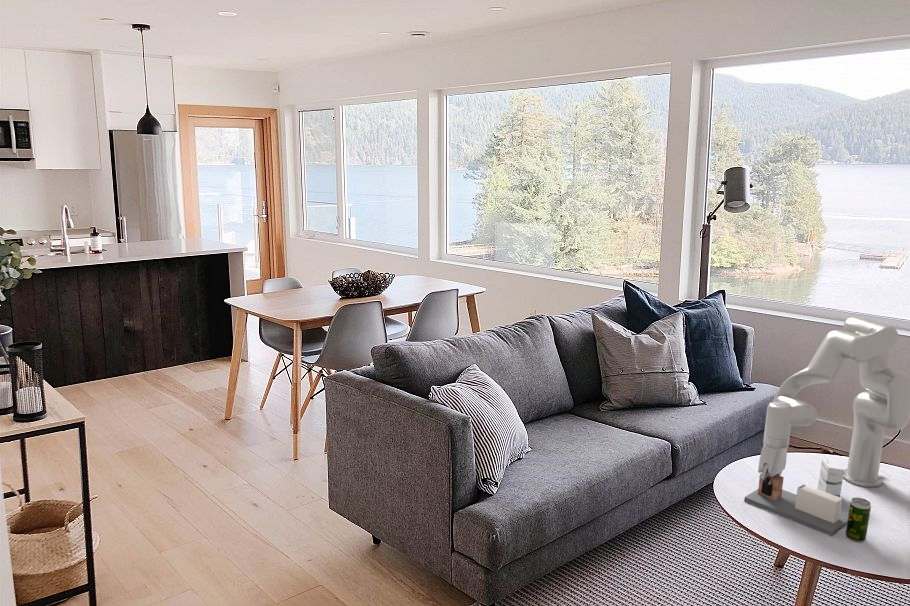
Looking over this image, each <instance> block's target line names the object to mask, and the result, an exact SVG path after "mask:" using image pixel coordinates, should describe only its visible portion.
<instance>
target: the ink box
mask: <svg viewBox="0 0 910 606" xmlns="http://www.w3.org/2000/svg"><path fill="white" fill-rule="evenodd" d="M844 470H845V469H844V468H843V467H842V465H841V463H840V462H839V460H838V459H833V458H827V457H822V458H821V464H820V469H819V476H818V477H819V478H818V484H817V489H818V490H821V491H823V492H826V493H829V494H832V495H834V496H837V497H840V498H841V494H842V486H843V480H844V478H843V473H844Z"/></svg>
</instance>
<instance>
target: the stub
mask: <svg viewBox="0 0 910 606" xmlns="http://www.w3.org/2000/svg"><path fill="white" fill-rule="evenodd" d="M761 474H762V472H761V473H759V479H758V480H759V481H758V488H757V489H758V494H760V495H762V496H765V497H767V498H770V499H772V500H775V501H776V500H777V499H779V498H780V497H781V495H782V489H783V487H784V486H783V485H784V477H785V476H782V475H781V476H779V475H775V476H773V480H772V485H773V487H772V495H771V496H768V495H765V494H763V493H761V490H762V479H761V478H760V476H761ZM767 474H770V473H767ZM766 477H767V478H768V479H770V477H768V476H766Z"/></svg>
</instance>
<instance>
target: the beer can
mask: <svg viewBox="0 0 910 606" xmlns="http://www.w3.org/2000/svg"><path fill="white" fill-rule="evenodd" d="M871 508H872V507H871V502H870V500H867V499H866V498H863V497H862V498H861V497H852V498H851V500H850V503H849V508H848V509H849V510H848V513H847V514H848V521H847V525H846V528H845V537H846V538H847V540H849V541H851V542H854V543H861V544H862V543H864V542H865V541H866V540H867V536H868V535H867V533H868V528H869V521H870V516H871Z"/></svg>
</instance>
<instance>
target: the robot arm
mask: <svg viewBox="0 0 910 606" xmlns="http://www.w3.org/2000/svg"><path fill="white" fill-rule="evenodd" d="M899 338H900V337H899V333H898V331H897V329H896V328H895V327H893V326H891V325H889V324H887V323H882V322H878V321H875V320H871V319H868V318H865V317H860V316H851V317H848V318H847V319H846V320H844V322H843V330H841V329H835V330H833V329H832V330H830V331H828V333H827V334H826V335H825V336H824V338H823V340H822V341H821V343H820V345H819V347H817V350H816V352H815V353H814V355H813V357H812V358H811V360H810V361H809V363H808V364H807V366H806V367H805V368H803V369H801V370H800V371H797V372H795V373H794V374H793V375H791V376H790V377H788V378H786V380H784V381H783V382H782V383H781V385H780V387H779V389H778V390H777V392H776V394H775V395H774V396H773V400H772V402H770V403H768V404H767V407H766V416H765V425H764V433H763V442H762V443H763V445H762V449H761V451H760V456H759V461H758V468H757V473H758V474H761V473H762V474H761V476H760V475H759V479H760V478H761V479H762V490H761V493H763V494H765V495H768V496H771V495H772V487H773V485H772V480H773V476H775V475H779V476H782V473H783V471H784V470H785V468H786V465H787V455H788V448H789V444H790V438H791V437H790V436H791V427H808V426H810V425H812V424H814V423H815V422H816V420H817V419H818V411H817V409H816V408H815V406H813V405H812V404H810V403H808V402H806V401H803V400H801V399H798V398H797V397H795V396H796V395H797V394H798V392H799V391H801V390H802V389H804V388H805V387H808V386H811V385H816V384H817V385H818V384H824V383H825V384H826V383H830V382H832V381H834V379H835V377H836V376H837V374H838V372H839V371H840V369H841V367H842V366H843V364H844V363H845V361H846V360H848V361H850V362H853V363H859V384H860V386H861V387H862V388H864V389H865V390H867V391H862V392H860V393H858V394H857V395H856V396H855V397H854V400H853V402H852V403H853V404H852V408H853V409H852V411H853V412H852V413H853V427H852V428H853V429H852V434H851V441H850V449H849V454H848V455H849V456H848V462H847V468H845V469H844V473H843V480H845V481H847V482H848V483H851V484H853V485H856V486H861V487H865V488H866V487H867V488H877V487H881V486H882V484H883V478H882V477H880V475H879V472H880V466H881V458H882V452H883V446H884V440H885V430H884V427H885V428H887V429H889V430H894V431H900V430H903V429H905V427H907V425H908V424H909V422H910V376H909V375H908V374H907V373H905V372H903V371H901V370H897V369H894V368H893V367H891V366H890V351H892V350H893V349H894V348H895V347H896V346H897V344H898V342H899ZM767 473H770V474H767ZM766 476H768V477H770V479H768V478H767V477H766Z"/></svg>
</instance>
